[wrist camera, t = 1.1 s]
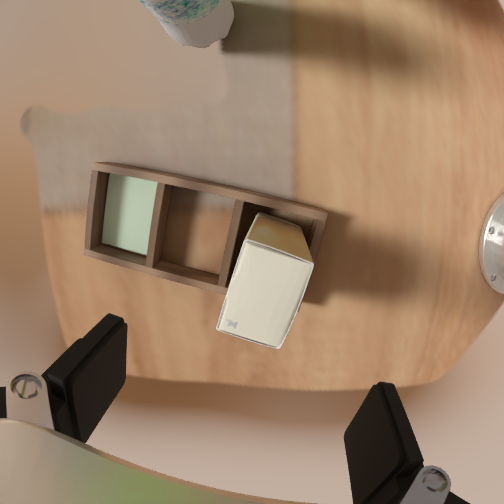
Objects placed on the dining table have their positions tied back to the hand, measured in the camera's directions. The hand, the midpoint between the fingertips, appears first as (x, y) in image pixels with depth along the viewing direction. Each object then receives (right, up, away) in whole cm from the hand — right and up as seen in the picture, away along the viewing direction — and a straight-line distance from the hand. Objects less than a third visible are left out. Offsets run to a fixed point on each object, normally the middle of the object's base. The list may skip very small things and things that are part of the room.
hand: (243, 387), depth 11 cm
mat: (-12, +9, +20) cm, 24 cm away
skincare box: (+2, +5, +20) cm, 21 cm away
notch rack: (-5, +7, +20) cm, 21 cm away
